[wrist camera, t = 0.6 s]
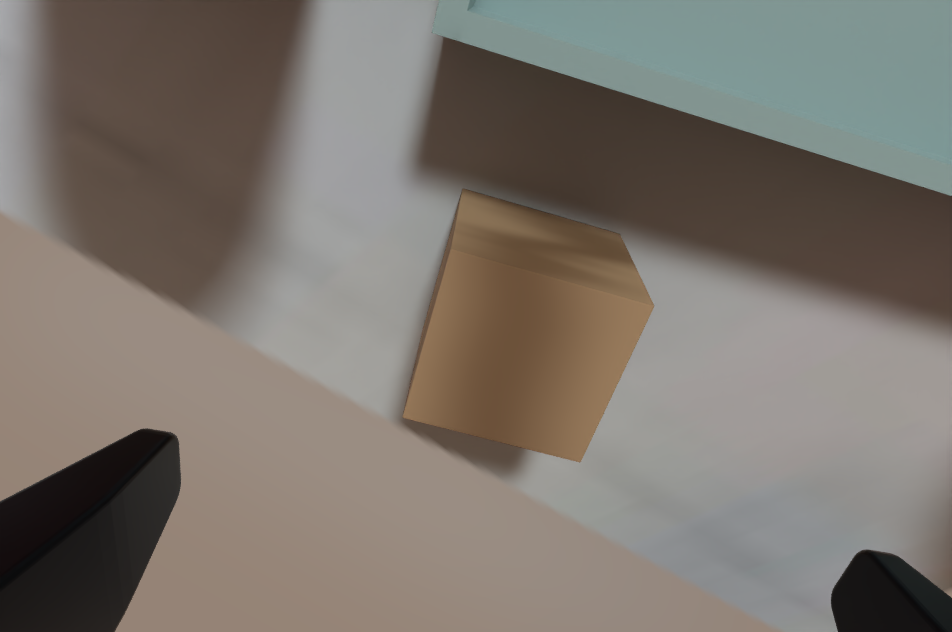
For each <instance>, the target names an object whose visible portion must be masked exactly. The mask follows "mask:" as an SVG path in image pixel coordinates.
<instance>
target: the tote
mask: <svg viewBox="0 0 952 632" xmlns="http://www.w3.org/2000/svg"><path fill="white" fill-rule="evenodd" d="M432 33H434V34H437V35H440V36H444V37H447V38H450V39H453V40H456V41H460V42H463V43H466V44H469V45H472V46H475V47H479V48H482V49H485V50H488V51H491V52H495V53H498V54H501V55H504V56H507V57H511V58H514V59H517V60H520V61H523V62H526V63H530V64H533V65H536V66H539V67H542V68H546V69H549V70H552V71H555V72H558V73H561V74H565V75H568V76H571V77H574V78H577V79H581V80H584V81H587V82H590V83H593V84H597V85H600V86H603V87H606V88H609V89H612V90H616V91H619V92H622V93H625V94H628V95H632V96H635V97H638V98H641V99H644V100H647V101H651V102H654V103H657V104H660V105H663V106H667V107H670V108H673V109H676V110H679V111H683V112H686V113H689V114H692V115H695V116H698V117H702V118H705V119H708V120H711V121H714V122H718V123H721V124H724V125H727V126H730V127H733V128H737V129H740V130H743V131H746V132H749V133H753V134H756V135H759V136H762V137H765V138H769V139H772V140H775V141H778V142H781V143H784V144H788V145H791V146H794V147H797V148H800V149H804V150H807V151H810V152H813V153H816V154H819V155H823V156H826V157H829V158H832V159H835V160H839V161H842V162H845V163H848V164H851V165H855V166H858V167H861V168H864V169H867V170H870V171H874V172H877V173H880V174H883V175H886V176H890V177H893V178H896V179H899V180H902V181H905V182H909V183H912V184H915V185H918V186H921V187H925V188H928V189H931V190H934V191H937V192H941V193H944V194H947V195H950V196H952V0H439V3H438V7H437V12H436V16H435V20H434V25H433V29H432Z"/></svg>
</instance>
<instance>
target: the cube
mask: <svg viewBox="0 0 952 632" xmlns="http://www.w3.org/2000/svg"><path fill="white" fill-rule="evenodd" d="M653 308H654V304H653V302H652V300H651V298H650V296H649V294H648V292H647V290H646V288H645V285H644V283H643V281H642V279H641V277H640V275H639V273H638V271H637V269H636V267H635V265H634V263H633V260H632V258H631V256H630V254H629V252H628V250H627V248H626V246H625V244H624V242H623V240H622V238H621V235H620V234H618V233H615V232H611V231H608V230H604V229H601V228H597V227H594V226H591V225H587V224H584V223H580V222H577V221H573V220H570V219H566V218H563V217H560V216H556V215H553V214H549V213H546V212H542V211H539V210H535V209H532V208H529V207H525V206H522V205H518V204H515V203H511V202H508V201H505V200H501V199H498V198H494V197H491V196H487V195H484V194H480V193H477V192H474V191H470V190H467V189H462V193H461V196H460V200H459V203H458V207H457V210H456V214H455V218H454V221H453V225H452V228H451V232H450V235H449V239H448V242H447V246H446V249H445V253H444V256H443V260H442V264H441V267H440V271H439V274H438V278H437V281H436V285H435V288H434V292H433V295H432V299H431V302H430V306H429V310H428V313H427V317H426V320H425V324H424V327H423V331H422V336H421V340H420V344H419V348H418V353H417V357H416V361H415V366H414V370H413V374H412V379H411V383H410V387H409V392H408V396H407V400H406V405H405V409H404V413H403V418H406V419H410V420H414V421H418V422H422V423H426V424H430V425H434V426H438V427H442V428H445V429H449V430H453V431H457V432H461V433H465V434H469V435H473V436H477V437H481V438H485V439H489V440H493V441H497V442H501V443H505V444H509V445H513V446H517V447H521V448H525V449H529V450H533V451H537V452H541V453H545V454H549V455H553V456H557V457H561V458H565V459H569V460H573V461H577V462H581V460H582V458H583V456H584V454H585V452H586V449H587V447H588V445H589V443H590V441H591V439H592V437H593V435H594V433H595V430H596V428H597V426H598V424H599V422H600V420H601V418H602V416H603V414H604V411H605V409H606V407H607V405H608V403H609V401H610V399H611V397H612V395H613V392H614V390H615V388H616V386H617V384H618V382H619V380H620V378H621V376H622V373H623V371H624V369H625V367H626V365H627V363H628V361H629V359H630V357H631V354H632V352H633V350H634V348H635V346H636V344H637V342H638V340H639V338H640V335H641V333H642V331H643V329H644V327H645V325H646V323H647V321H648V319H649V316H650V314H651V312H652V310H653Z"/></svg>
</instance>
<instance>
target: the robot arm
mask: <svg viewBox="0 0 952 632" xmlns="http://www.w3.org/2000/svg"><path fill="white" fill-rule="evenodd" d="M179 455H180V454H179V442H178V438H177V436H176V435H175V434H173V433H171V432H166V431H160V430H153V429H140V430H138V431H136V432H133V433H132V434H130V435H128V436H126V437H124V438H122V439H120V440H118V441H116V442H114V443H112V444H110V445H108V446H106V447H105V448H103V449H101V450H99V451H97V452H95V453H93V454H91V455H89V456H87V457H85V458H83V459H81V460H79V461H78V462H75V463H74V464H72V465H70V466H68V467H66V468H64V469H62V470H60V471H58V472H56V473H54V474H52V475H50V476H48V477H47V478H45V479H43V480H41V481H39V482H37V483H35V484H33V485H31V486H29V487H27V488H26V489H23V490H21V491H19V492H17V493H16V494H14V495H12V496H10V497H8V498H6V499H4V500H2V501H0V632H115V630H116V628H117V626H118V625H119V623H120V621H121V619H122V618H123V616H124V614H125V611H126V610H127V608H128V606H129V604H130V602H131V600H132V597H133V595H134V593H135V591H136V589H137V587H138V584H139V582H140V580H141V578H142V576H143V573H144V571H145V569H146V567H147V564H148V562H149V560H150V558H151V556H152V554H153V551H154V549H155V547H156V545H157V543H158V540H159V538H160V536H161V534H162V532H163V530H164V527H165V525H166V523H167V521H168V519H169V516H170V514H171V512H172V510H173V507H174V505H175V503H176V501H177V498H178V495H179V491H180V486H181V473H180V456H179ZM831 607H832V611H833V615H834V619H835V623H836V626H837V630H838V632H952V598H951V597H950V596H949V595H947V594H946V593H945V592H944V591H942V590H941V589H940V588H938V587H937V586H936V585H935V584H933V583H932V582H931V581H929V580H928V579H927V578H926V577H924V576H923V575H922V574H920V573H919V572H918V571H917V570H915V569H914V568H913V567H911V566H910V565H909V564H908V563H906V562H905V561H904V560H902V559H901V558H900V557H898V556H896V555H894V554H891V553H886V552H880V551H874V550H862V551H860V552H858V553H857V554H856V555H855V556H854V558H853V559H852V561H851V562H850V564H849V565H848V567H847V568H846V570H845V571H844V573H843V574H842V576H841V577H840V579H839V580H838V582H837V583H836V585H835V586H834V588H833V591H832V594H831Z"/></svg>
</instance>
